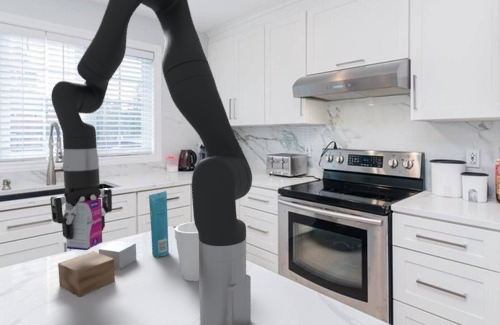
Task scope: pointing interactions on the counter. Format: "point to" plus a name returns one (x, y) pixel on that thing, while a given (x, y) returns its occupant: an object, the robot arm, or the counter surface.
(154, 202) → the tube
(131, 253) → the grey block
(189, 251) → the foam cup
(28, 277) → the counter surface
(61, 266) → the walnut block
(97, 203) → the supplement box
